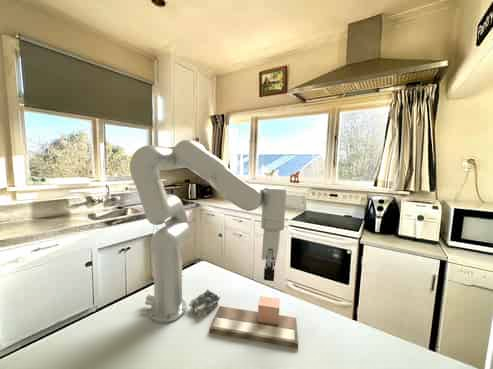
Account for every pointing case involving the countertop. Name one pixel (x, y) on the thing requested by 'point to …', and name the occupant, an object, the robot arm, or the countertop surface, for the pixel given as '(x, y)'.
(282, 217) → the robot arm
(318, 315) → the countertop surface
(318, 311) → the countertop surface
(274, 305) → the peach rectangular block
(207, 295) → the egg carton
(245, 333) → the board
